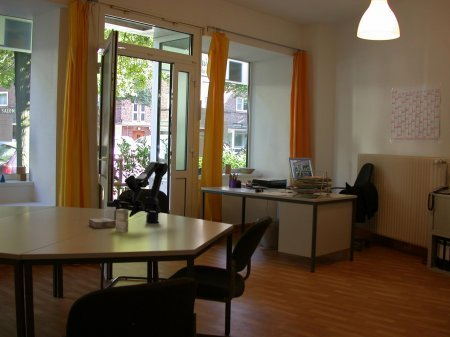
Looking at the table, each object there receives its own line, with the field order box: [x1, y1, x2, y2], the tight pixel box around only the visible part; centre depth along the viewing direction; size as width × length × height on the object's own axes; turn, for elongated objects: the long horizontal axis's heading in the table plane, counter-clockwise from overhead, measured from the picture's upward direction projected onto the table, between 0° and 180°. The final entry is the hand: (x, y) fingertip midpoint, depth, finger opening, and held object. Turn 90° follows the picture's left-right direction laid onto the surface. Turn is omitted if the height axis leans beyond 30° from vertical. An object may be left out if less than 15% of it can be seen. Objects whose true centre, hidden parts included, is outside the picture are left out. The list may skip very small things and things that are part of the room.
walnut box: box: [88, 217, 116, 230], centre depth 282 cm, size 12×12×4 cm
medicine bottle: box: [103, 200, 116, 221], centre depth 303 cm, size 7×7×12 cm
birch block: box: [114, 208, 130, 233], centre depth 268 cm, size 5×5×12 cm
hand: (122, 216), depth 268 cm, fingers open, 9 cm apart
